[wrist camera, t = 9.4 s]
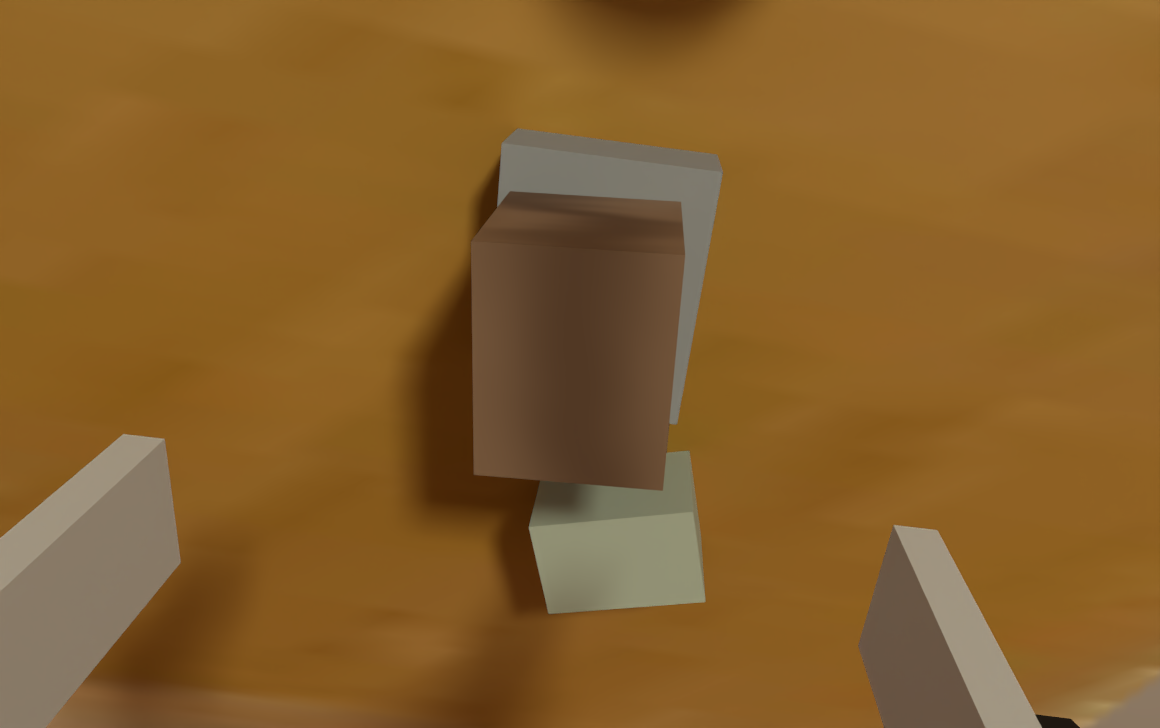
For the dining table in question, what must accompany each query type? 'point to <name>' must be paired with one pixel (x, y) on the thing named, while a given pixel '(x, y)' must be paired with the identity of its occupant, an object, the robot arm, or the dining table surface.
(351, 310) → the dining table surface
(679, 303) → the walnut block
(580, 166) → the grey slab
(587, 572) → the sage block
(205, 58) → the dining table surface
